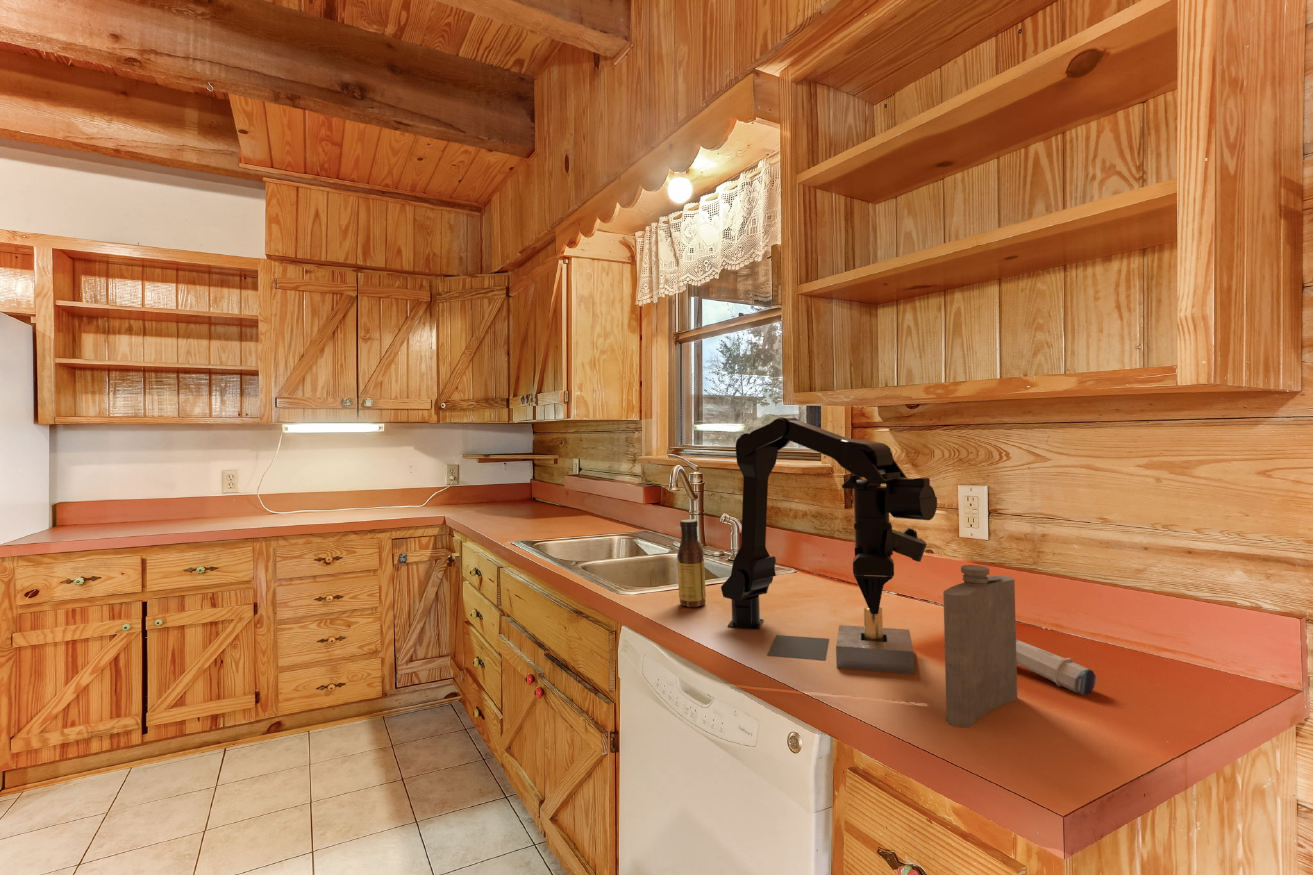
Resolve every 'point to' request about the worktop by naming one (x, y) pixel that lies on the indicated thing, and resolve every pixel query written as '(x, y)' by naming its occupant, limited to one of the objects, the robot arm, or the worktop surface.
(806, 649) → the mat
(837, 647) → the block
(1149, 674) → the worktop surface
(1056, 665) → the flashlight
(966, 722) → the hip flask
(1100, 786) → the worktop surface
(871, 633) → the pin
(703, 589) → the sauce bottle
